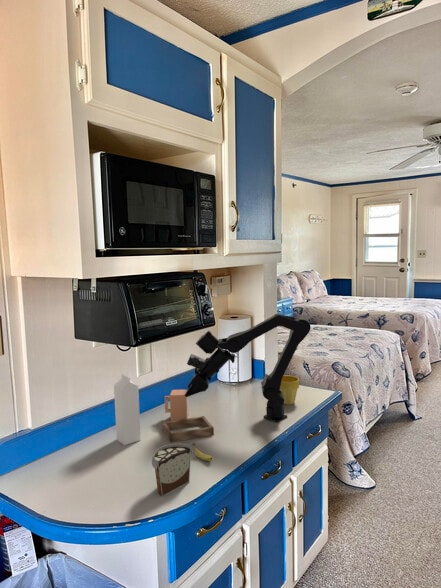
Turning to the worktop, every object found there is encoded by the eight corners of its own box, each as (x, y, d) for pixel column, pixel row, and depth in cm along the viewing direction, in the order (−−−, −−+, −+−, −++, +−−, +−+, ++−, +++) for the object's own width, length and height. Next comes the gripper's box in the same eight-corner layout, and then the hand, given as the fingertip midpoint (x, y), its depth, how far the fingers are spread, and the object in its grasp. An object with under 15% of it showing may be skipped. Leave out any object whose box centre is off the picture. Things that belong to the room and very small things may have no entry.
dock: (204, 422, 159) (203, 416, 158) (213, 434, 148) (213, 427, 148) (162, 429, 154) (162, 422, 153) (169, 442, 143) (169, 434, 143)
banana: (191, 456, 134) (191, 443, 133) (195, 454, 135) (195, 442, 134) (210, 465, 128) (210, 452, 128) (214, 462, 129) (214, 449, 129)
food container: (178, 472, 124) (177, 438, 123) (193, 480, 120) (192, 445, 119) (143, 490, 115) (141, 454, 114) (157, 499, 111) (156, 461, 110)
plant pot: (287, 395, 185) (287, 373, 184) (304, 402, 176) (304, 379, 175) (268, 400, 180) (268, 377, 179) (284, 408, 171) (284, 384, 170)
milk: (124, 445, 142) (120, 379, 139) (116, 439, 146) (112, 375, 144) (141, 440, 145) (138, 375, 143) (133, 434, 150) (129, 371, 147)
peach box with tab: (188, 415, 166) (188, 389, 165) (187, 421, 160) (186, 395, 159) (167, 415, 166) (166, 389, 165) (164, 421, 160) (163, 395, 159)
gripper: (201, 341, 169) (174, 370, 171) (197, 353, 151) (167, 385, 152) (222, 361, 170) (195, 389, 172) (220, 375, 151) (190, 406, 153)
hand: (186, 391), depth 162 cm, fingers open, 9 cm apart
